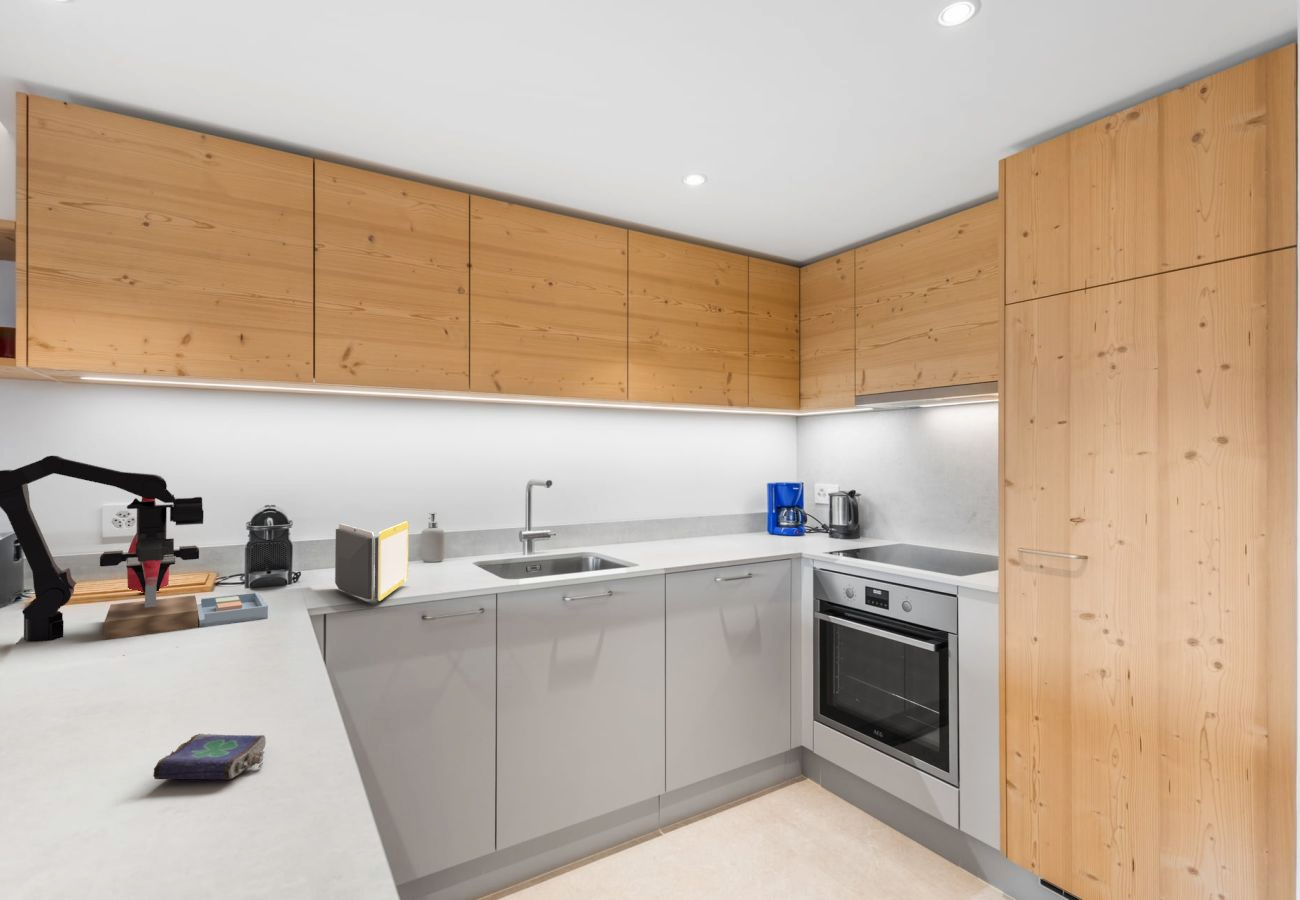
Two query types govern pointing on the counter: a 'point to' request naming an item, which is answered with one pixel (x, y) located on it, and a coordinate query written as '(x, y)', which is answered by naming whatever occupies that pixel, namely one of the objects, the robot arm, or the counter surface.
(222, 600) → the sage tile
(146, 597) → the grey rectangular bar
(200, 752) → the navy flat block
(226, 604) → the terracotta tile
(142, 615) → the wood-grain brown block
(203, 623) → the box
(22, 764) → the counter surface
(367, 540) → the folding display board
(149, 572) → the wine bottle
